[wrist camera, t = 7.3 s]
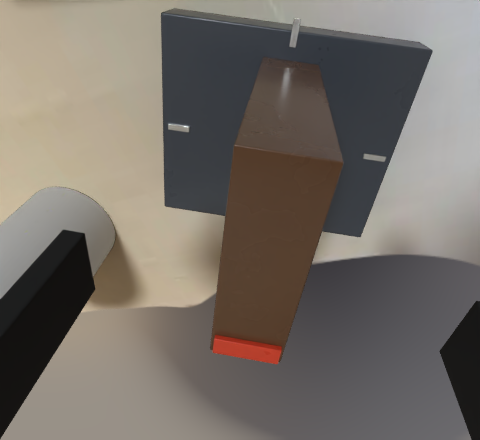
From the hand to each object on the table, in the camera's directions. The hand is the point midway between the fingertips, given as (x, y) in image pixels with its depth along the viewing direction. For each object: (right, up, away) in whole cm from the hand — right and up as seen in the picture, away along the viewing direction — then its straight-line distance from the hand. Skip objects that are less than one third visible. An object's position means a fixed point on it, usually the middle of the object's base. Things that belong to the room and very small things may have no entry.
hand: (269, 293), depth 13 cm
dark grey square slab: (+2, +9, +13) cm, 16 cm away
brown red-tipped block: (+1, +8, +11) cm, 13 cm away
